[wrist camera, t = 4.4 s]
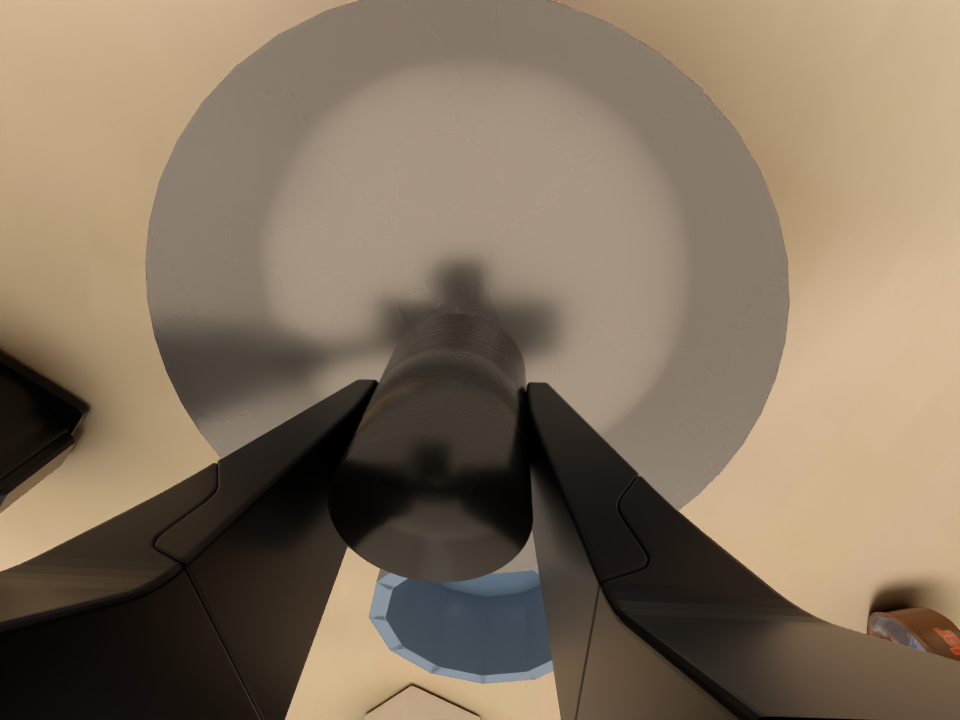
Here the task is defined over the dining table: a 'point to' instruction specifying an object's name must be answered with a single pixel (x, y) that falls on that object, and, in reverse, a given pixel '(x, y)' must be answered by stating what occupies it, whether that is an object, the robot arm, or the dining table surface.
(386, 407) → the lid
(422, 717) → the milk carton
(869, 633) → the tin
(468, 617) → the blue bowl
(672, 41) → the dining table surface
